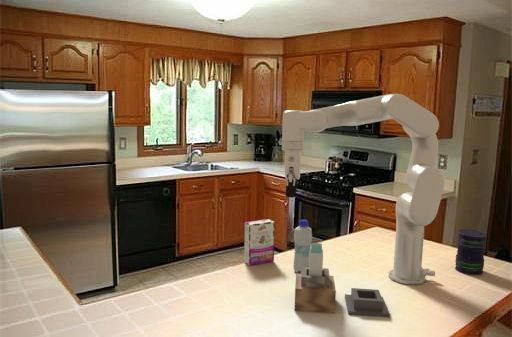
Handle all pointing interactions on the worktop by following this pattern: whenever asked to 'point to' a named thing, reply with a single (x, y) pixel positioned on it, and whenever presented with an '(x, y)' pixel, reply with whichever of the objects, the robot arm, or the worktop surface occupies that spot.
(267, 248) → the candy bar box
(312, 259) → the plug
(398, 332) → the worktop surface
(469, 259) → the storage jar
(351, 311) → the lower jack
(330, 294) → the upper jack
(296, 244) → the bottle
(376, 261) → the worktop surface
